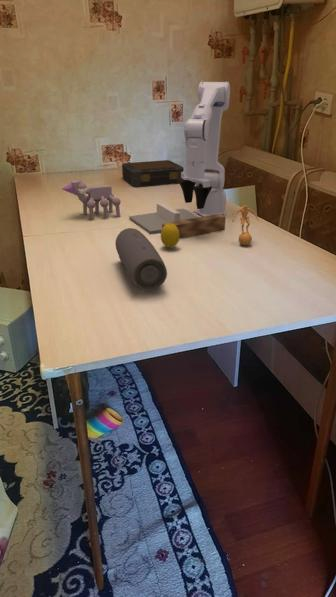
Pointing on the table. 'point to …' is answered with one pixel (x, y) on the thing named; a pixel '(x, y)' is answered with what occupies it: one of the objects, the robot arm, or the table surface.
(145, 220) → the fulcrum stand
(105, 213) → the purple toy animal
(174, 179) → the cash box
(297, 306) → the table surface
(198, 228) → the walnut beam
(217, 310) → the table surface
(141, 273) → the bluetooth speaker
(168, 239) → the lemon
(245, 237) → the figurine
